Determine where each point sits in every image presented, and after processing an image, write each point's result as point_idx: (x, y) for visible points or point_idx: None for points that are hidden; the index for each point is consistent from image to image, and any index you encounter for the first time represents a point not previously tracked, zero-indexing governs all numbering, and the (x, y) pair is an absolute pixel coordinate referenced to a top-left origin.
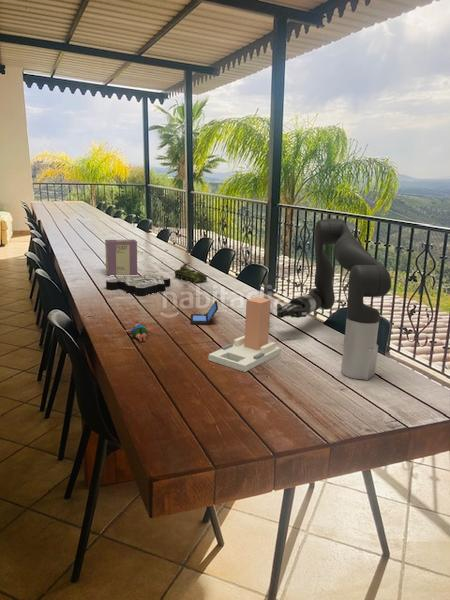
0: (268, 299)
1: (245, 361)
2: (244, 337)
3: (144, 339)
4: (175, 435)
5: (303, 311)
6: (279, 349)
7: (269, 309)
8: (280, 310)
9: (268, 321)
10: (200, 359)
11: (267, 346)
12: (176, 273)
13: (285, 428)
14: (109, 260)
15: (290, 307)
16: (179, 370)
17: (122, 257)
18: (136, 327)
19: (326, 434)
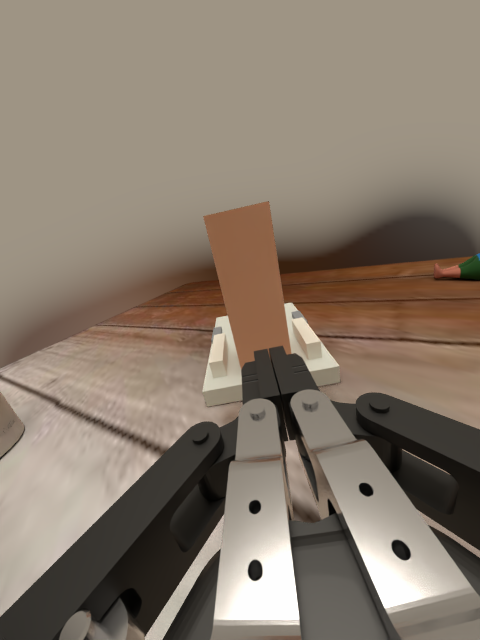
0: (212, 214)
1: (226, 321)
2: (301, 332)
3: (434, 274)
4: (201, 287)
5: (52, 583)
6: (204, 388)
7: (213, 254)
8: (290, 364)
9: (223, 297)
10: (303, 308)
11: (214, 342)
12: None
13: (132, 316)
14: None
15: (262, 460)
16: (286, 294)
17: None
18: (477, 254)
19: (96, 328)
